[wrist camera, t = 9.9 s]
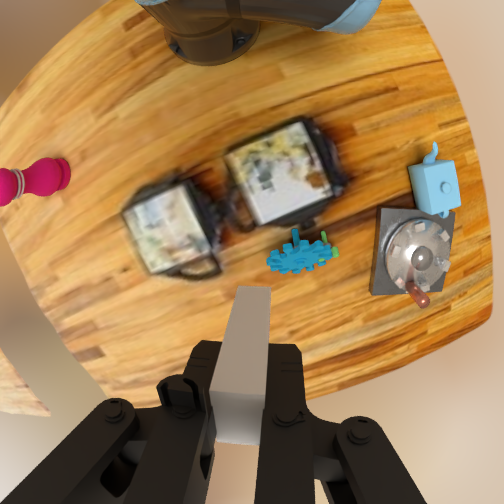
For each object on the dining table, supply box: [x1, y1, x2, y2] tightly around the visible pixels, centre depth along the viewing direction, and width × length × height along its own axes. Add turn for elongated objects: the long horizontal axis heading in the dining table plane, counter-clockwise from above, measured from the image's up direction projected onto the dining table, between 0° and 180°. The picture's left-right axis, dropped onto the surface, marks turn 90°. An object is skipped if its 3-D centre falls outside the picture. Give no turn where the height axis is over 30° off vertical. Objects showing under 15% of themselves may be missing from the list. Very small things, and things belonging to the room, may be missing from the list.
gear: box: [266, 229, 339, 274], centre depth 43 cm, size 11×6×10 cm
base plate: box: [369, 206, 455, 295], centre depth 43 cm, size 15×15×2 cm
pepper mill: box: [0, 158, 70, 206], centre depth 35 cm, size 7×7×20 cm
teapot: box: [408, 142, 461, 218], centre depth 37 cm, size 12×6×8 cm, turn 19°
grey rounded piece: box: [385, 218, 451, 308], centre depth 39 cm, size 12×12×8 cm
